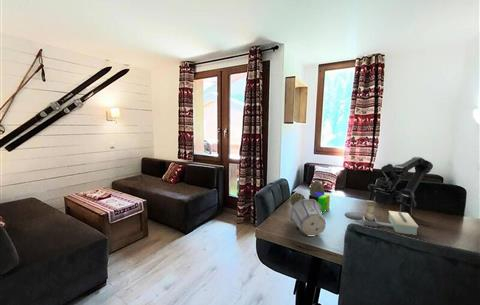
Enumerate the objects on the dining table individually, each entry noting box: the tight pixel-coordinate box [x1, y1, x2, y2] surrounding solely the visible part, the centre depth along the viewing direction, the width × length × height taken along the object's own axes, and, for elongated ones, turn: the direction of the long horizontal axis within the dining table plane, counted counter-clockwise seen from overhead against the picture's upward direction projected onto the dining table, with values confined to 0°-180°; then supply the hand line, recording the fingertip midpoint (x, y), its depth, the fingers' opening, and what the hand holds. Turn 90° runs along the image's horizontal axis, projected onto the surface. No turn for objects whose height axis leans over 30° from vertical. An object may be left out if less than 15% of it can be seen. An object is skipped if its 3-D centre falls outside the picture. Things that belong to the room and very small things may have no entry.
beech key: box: [365, 200, 377, 221], centre depth 130 cm, size 5×5×13 cm
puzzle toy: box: [308, 192, 331, 213], centre depth 152 cm, size 10×10×10 cm
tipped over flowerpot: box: [289, 192, 327, 236], centre depth 127 cm, size 18×18×30 cm
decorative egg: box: [309, 180, 325, 195], centre depth 171 cm, size 11×11×15 cm
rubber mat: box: [344, 211, 363, 220], centre depth 141 cm, size 10×10×1 cm
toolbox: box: [361, 210, 419, 236], centre depth 128 cm, size 19×24×6 cm
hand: (377, 202), depth 131 cm, fingers open, 9 cm apart
